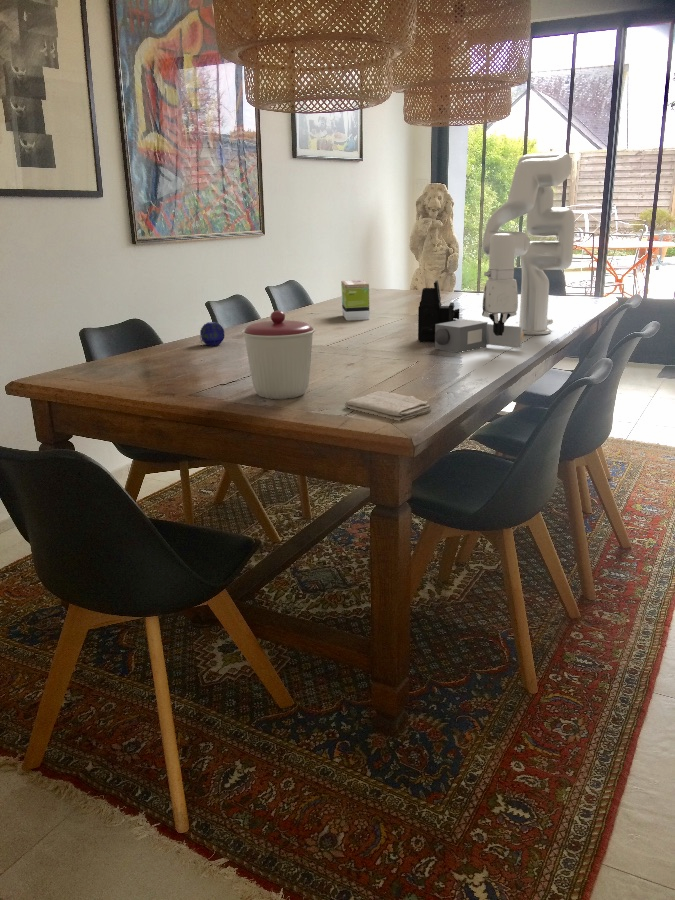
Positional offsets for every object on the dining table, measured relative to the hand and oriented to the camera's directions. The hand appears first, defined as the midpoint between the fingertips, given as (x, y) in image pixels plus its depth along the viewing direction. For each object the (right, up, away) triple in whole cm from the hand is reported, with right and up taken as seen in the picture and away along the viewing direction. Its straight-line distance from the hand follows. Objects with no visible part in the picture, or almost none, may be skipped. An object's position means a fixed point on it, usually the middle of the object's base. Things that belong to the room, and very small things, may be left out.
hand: (498, 334), depth 235 cm
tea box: (-43, +19, +78) cm, 91 cm away
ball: (-94, 0, +24) cm, 97 cm away
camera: (-16, +1, +22) cm, 27 cm away
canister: (-65, -22, -45) cm, 82 cm away
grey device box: (-10, -3, +9) cm, 14 cm away
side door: (+3, -3, +5) cm, 7 cm away
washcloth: (-39, -27, -61) cm, 77 cm away
